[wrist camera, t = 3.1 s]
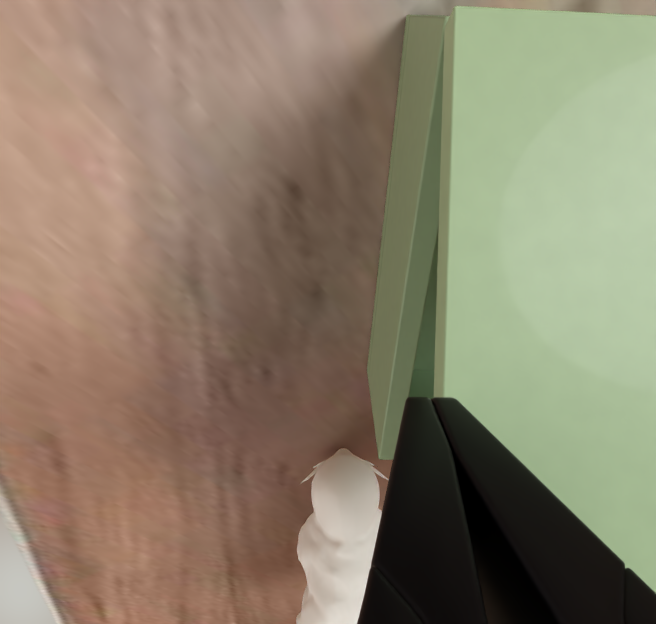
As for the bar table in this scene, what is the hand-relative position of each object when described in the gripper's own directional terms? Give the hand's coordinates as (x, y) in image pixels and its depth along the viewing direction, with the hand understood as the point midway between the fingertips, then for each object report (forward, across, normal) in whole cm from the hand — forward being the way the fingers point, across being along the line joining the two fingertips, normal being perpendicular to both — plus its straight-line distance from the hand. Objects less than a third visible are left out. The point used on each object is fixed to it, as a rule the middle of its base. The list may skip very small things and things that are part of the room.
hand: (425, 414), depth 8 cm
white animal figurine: (+13, 0, +20) cm, 24 cm away
